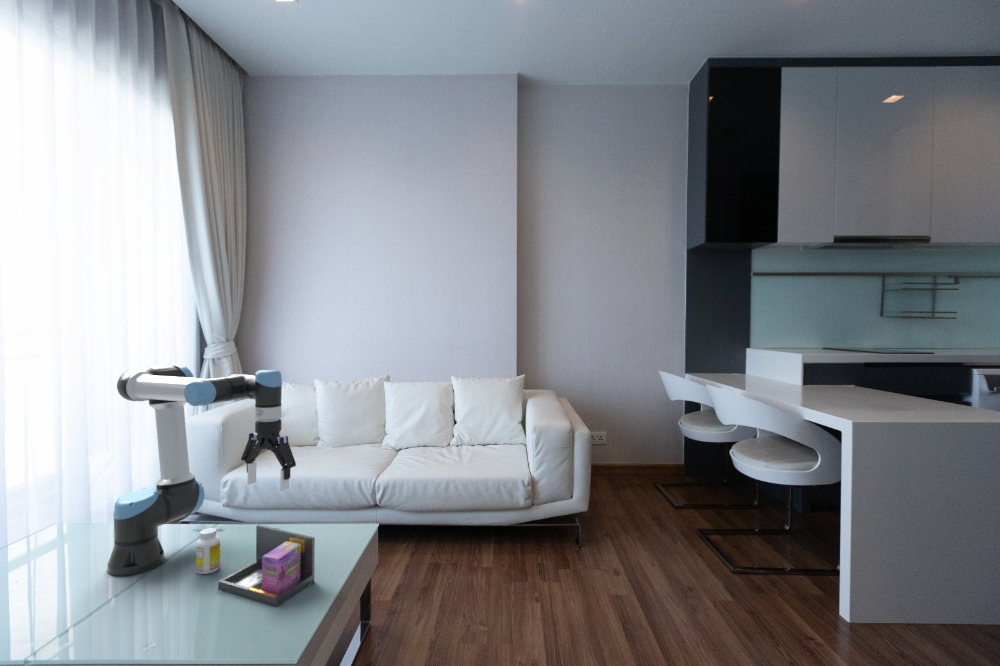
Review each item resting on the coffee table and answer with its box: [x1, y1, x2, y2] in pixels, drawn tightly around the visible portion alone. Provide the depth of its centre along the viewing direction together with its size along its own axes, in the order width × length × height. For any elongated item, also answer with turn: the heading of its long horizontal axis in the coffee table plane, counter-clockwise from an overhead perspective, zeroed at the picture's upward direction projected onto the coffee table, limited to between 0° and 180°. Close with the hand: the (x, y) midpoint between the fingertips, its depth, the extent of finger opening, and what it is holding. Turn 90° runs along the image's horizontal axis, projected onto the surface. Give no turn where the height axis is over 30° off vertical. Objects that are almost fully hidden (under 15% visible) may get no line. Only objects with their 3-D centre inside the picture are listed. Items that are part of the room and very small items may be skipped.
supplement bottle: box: [195, 527, 221, 575], centre depth 164 cm, size 7×7×13 cm
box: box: [262, 541, 301, 595], centre depth 153 cm, size 10×6×12 cm, turn 164°
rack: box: [217, 524, 316, 608], centre depth 155 cm, size 23×15×14 cm, turn 68°
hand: (268, 486), depth 160 cm, fingers open, 13 cm apart
